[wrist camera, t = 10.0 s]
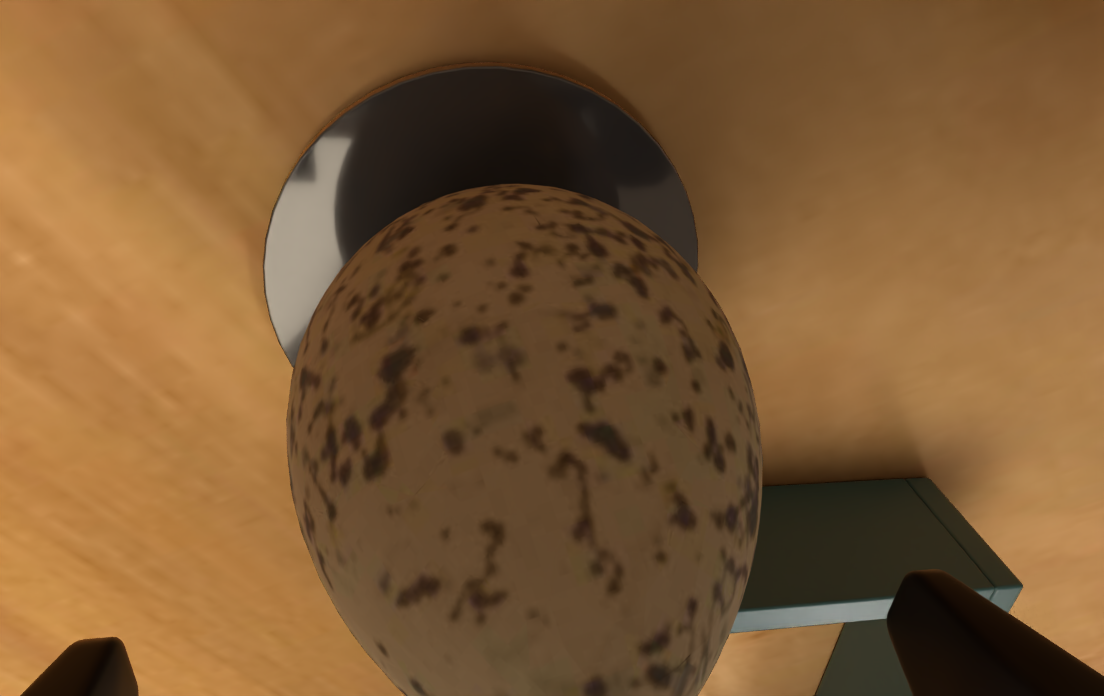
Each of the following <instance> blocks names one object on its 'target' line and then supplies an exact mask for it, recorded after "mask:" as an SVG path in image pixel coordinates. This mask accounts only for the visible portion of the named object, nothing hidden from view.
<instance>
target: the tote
mask: <svg viewBox="0 0 1104 696" xmlns="http://www.w3.org/2000/svg"><path fill="white" fill-rule="evenodd" d="M928 569H939V570H942V571H945V572H947V573H948V574H950V575H952V576H953V577H955V578H956V579H958V580H959V581H961V582H962V583H964V584H965V585H967V586H968V587H970V588H971V589H973V590H974V591H976V592H977V593H979V594H980V595H982V596H983V597H985V598H986V599H988V600H989V601H991V602H992V603H994V604H995V605H997V606H998V607H1000V608H1001V609H1003V610H1004V611H1006V612H1009V611H1010V609H1011V607H1012V606H1013V604H1014V602H1015V600H1016V599H1017V597H1018V595H1019V593H1020V592H1021V590H1022V588H1023V585H1022V583H1021V582H1020V581H1019V580H1018V579H1017V577H1016V576H1015V575H1014V574H1013V573H1012V572H1011V571H1010V569H1009V568H1008V567H1007V566H1006V565H1005V564H1004V563H1003V561H1002V560H1001V559H1000V558H999V557H998V556H997V555H996V553H995V552H994V551H993V550H992V549H991V548H990V547H989V545H988V544H987V543H986V542H985V541H984V540H983V539H982V538H981V536H980V535H979V534H978V533H977V532H976V531H975V530H974V528H973V527H972V526H971V525H970V524H969V523H968V522H967V520H966V519H965V518H964V517H963V516H962V515H961V514H960V512H959V511H958V510H957V509H956V508H955V507H954V506H953V504H952V503H951V502H950V501H949V500H948V499H947V498H946V497H945V495H944V494H943V493H942V492H941V491H940V490H939V489H938V487H937V486H936V485H935V484H934V483H933V482H932V481H931V479H929V478H927V477H925V478H908V479H905V480H904V479H886V480H868V481H851V482H833V483H816V484H798V485H780V486H763V487H762V498H761V510H760V521H759V529H758V536H757V543H756V548H755V553H754V558H753V563H752V567H751V571H750V574H749V578H748V581H747V585H746V588H745V592H744V595H743V599H742V602H741V604H740V607H739V610H738V613H737V616H736V619H735V621H734V624H733V626H732V629H731V632H730V633H739V632H749V631H760V630H771V629H781V628H792V627H803V626H814V625H824V624H835V623H845V625H844V627H843V630H842V632H841V634H840V637H839V639H838V642H837V644H836V646H835V649H834V651H833V654H832V656H831V659H830V661H829V663H828V666H827V668H826V671H825V673H824V675H823V678H822V680H821V683H820V685H819V687H818V690H817V692H816V695H815V696H913V694H912V692H911V689H910V687H909V684H908V682H907V679H906V677H905V674H904V672H903V669H902V667H901V664H900V662H899V659H898V657H897V654H896V652H895V649H894V647H893V644H892V641H891V639H890V636H889V633H888V629H887V613H888V611H889V608H890V606H891V604H892V602H893V600H894V597H895V595H896V593H897V591H898V589H899V586H900V584H901V582H902V580H903V578H904V576H905V575H906V574H907V573H909V572H911V571H916V570H928Z"/></svg>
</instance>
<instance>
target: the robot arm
mask: <svg viewBox="0 0 1104 696" xmlns="http://www.w3.org/2000/svg"><path fill="white" fill-rule="evenodd" d="M887 629H888V633H889V636H890V639H891V641H892V644H893V647H894V649H895V652H896V654H897V657H898V659H899V662H900V664H901V667H902V669H903V672H904V674H905V677H906V679H907V682H908V684H909V687H910V689H911V692H912V694H913V696H1104V676H1103V675H1101V674H1100V673H1098V672H1097V671H1095V670H1094V669H1092V668H1091V667H1089V666H1088V665H1086V664H1084V663H1083V662H1081V661H1080V660H1078V659H1077V658H1075V657H1074V656H1072V655H1071V654H1069V653H1068V652H1066V651H1065V650H1063V649H1062V648H1060V647H1059V646H1057V645H1056V644H1054V643H1053V642H1051V641H1050V640H1048V639H1047V638H1045V637H1044V636H1042V635H1041V634H1039V633H1038V632H1036V631H1035V630H1033V629H1032V628H1030V627H1029V626H1027V625H1026V624H1024V623H1023V622H1021V621H1020V620H1018V619H1017V618H1015V617H1014V616H1012V615H1011V614H1009V613H1008V612H1006V611H1004V610H1003V609H1001V608H1000V607H998V606H997V605H995V604H994V603H992V602H991V601H989V600H988V599H986V598H985V597H983V596H982V595H980V594H979V593H977V592H976V591H974V590H973V589H971V588H970V587H968V586H967V585H965V584H964V583H962V582H961V581H959V580H958V579H956V578H955V577H953V576H952V575H950V574H948V573H947V572H945V571H942V570H939V569H928V570H916V571H911V572H909V573H907V574H906V575H905V576H904V578H903V580H902V582H901V584H900V586H899V589H898V591H897V593H896V595H895V597H894V600H893V602H892V604H891V606H890V608H889V611H888V613H887ZM20 696H138V685H137V681H136V678H135V675H134V673H133V670H132V667H131V664H130V661H129V658H128V655H127V652H126V649H125V646H124V644H123V642H122V641H121V640H120V639H119V638H117V637H107V638H95V639H84V640H79V641H77V642H75V643H73V644H72V645H70V646H69V647H68V648H67V649H66V650H65V651H64V652H63V653H62V654H61V655H60V656H59V657H58V658H57V659H56V660H55V661H54V662H53V663H52V664H51V665H50V666H49V667H48V668H47V669H46V670H45V671H44V672H43V673H42V674H41V675H40V676H39V677H38V678H37V679H36V680H35V681H34V682H33V683H32V684H31V685H30V686H29V687H28V688H27V689H26V690H25V691H24V692H23V693H22V694H21V695H20Z"/></svg>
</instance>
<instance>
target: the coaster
mask: <svg viewBox="0 0 1104 696" xmlns="http://www.w3.org/2000/svg"><path fill="white" fill-rule="evenodd" d="M500 184H529V185H539V186H549V187H556V188H560V189H564V190H568V191H572V192H576V193H580V194H583V195H586V196H589V197H592V198H594V199H597V200H599V201H601V202H603V203H606V204H608V205H610V206H612V207H614V208H617V209H618V210H620V211H622V212H624V213H626V214H628V215H629V216H631V217H633V218H635V219H637V220H638V221H640V222H641V223H642V224H644V225H645V226H646V227H648V228H649V229H650V230H652V231H653V232H654V233H656V234H657V235H658V236H659V237H661V238H662V239H663V240H664V241H665V242H667V243H668V244H669V245H670V246H671V247H673V248H674V249H675V250H676V251H677V252H678V253H679V254H680V255H681V257H682V258H683V259H684V260H685V261H686V262H687V263H688V264H689V265H690V266H691V267H692V268H693V269H694V270H695V272H696V273H697V269H698V240H697V233H696V227H695V221H694V215H693V212H692V208H691V205H690V202H689V199H688V196H687V192H686V190H685V188H684V186H683V183H682V181H681V179H680V177H679V175H678V173H677V171H676V169H675V167H674V165H673V164H672V162H671V161H670V159H669V158H668V156H667V155H666V154H665V152H664V151H663V149H662V148H661V146H660V145H659V143H658V142H657V141H656V140H655V139H654V138H653V137H652V136H651V135H650V134H649V133H648V131H647V130H646V129H645V128H644V127H643V126H642V125H641V124H640V123H639V122H638V121H637V120H636V119H635V118H634V117H633V116H631V115H630V114H629V113H628V112H627V111H625V110H624V109H623V108H622V107H620V106H619V105H618V104H617V103H615V102H614V101H613V100H611V99H609V98H608V97H606V96H604V95H603V94H601V93H599V92H598V91H596V90H594V89H593V88H591V87H589V86H588V85H585V84H583V83H580V82H578V81H576V80H573V79H571V78H568V77H566V76H564V75H561V74H558V73H555V72H551V71H547V70H543V69H539V68H535V67H531V66H526V65H517V64H509V63H500V62H482V63H461V64H455V65H448V66H442V67H436V68H431V69H428V70H424V71H421V72H418V73H415V74H411V75H408V76H405V77H402V78H399V79H397V80H395V81H393V82H391V83H389V84H386V85H384V86H382V87H380V88H378V89H376V90H374V91H372V92H370V93H368V94H367V95H365V96H364V97H362V98H361V99H359V100H358V101H356V102H355V103H353V104H352V105H350V106H349V107H347V108H345V109H344V110H343V111H342V112H341V113H340V114H339V115H337V116H336V117H335V118H334V119H333V120H332V121H331V122H329V123H328V124H327V125H326V126H325V127H324V128H323V129H321V131H320V132H319V133H318V134H317V135H316V137H315V138H314V139H313V140H312V141H311V142H310V144H309V145H308V146H307V147H306V148H305V150H304V151H303V152H302V153H301V155H300V156H299V158H298V160H297V161H296V163H295V164H294V166H293V168H292V169H291V171H290V173H289V174H288V176H287V177H286V179H285V182H284V184H283V186H282V189H281V191H280V194H279V196H278V198H277V201H276V203H275V205H274V208H273V210H272V214H271V218H270V222H269V226H268V230H267V234H266V238H265V247H264V258H263V277H264V293H265V298H266V302H267V307H268V312H269V316H270V320H271V322H272V325H273V328H274V330H275V333H276V336H277V338H278V341H279V343H280V345H281V347H282V349H283V351H284V353H285V354H286V356H287V358H288V360H289V362H290V363H291V365H292V367H293V368H294V365H295V362H296V358H297V355H298V351H299V348H300V344H301V342H302V339H303V337H304V334H305V332H306V330H307V327H308V325H309V323H310V320H311V318H312V315H313V313H314V311H315V309H316V307H317V306H318V304H319V302H320V300H321V298H322V297H323V295H324V293H325V292H326V290H327V289H328V287H329V286H330V284H331V283H332V281H333V280H334V278H335V277H336V276H337V274H338V273H339V271H340V270H341V269H342V267H343V266H344V265H345V264H346V263H347V262H348V261H349V260H350V259H351V258H352V257H353V255H354V254H355V253H356V252H357V251H358V250H359V249H360V248H361V247H362V246H363V245H364V244H365V243H366V242H367V241H369V240H370V239H371V238H372V237H373V236H374V235H376V234H377V233H378V232H379V231H381V230H382V229H383V228H385V227H386V226H388V225H389V224H390V223H392V222H393V221H395V220H396V219H397V218H399V217H401V216H402V215H404V214H406V213H408V212H410V211H411V210H413V209H415V208H417V207H419V206H421V205H422V204H424V203H427V202H430V201H432V200H435V199H437V198H440V197H443V196H445V195H448V194H452V193H456V192H459V191H463V190H467V189H472V188H478V187H484V186H492V185H500Z"/></svg>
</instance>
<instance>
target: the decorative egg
mask: <svg viewBox="0 0 1104 696" xmlns="http://www.w3.org/2000/svg"><path fill="white" fill-rule="evenodd" d="M286 423H287V455H288V465H289V474H290V486H291V491H292V496H293V501H294V505H295V509H296V513H297V516H298V520H299V524H300V528H301V532H302V535H303V537H304V540H305V543H306V545H307V548H308V550H309V553H310V555H311V558H312V560H313V563H314V565H315V568H316V570H317V573H318V575H319V578H320V580H321V582H322V583H323V585H324V587H325V589H326V591H327V593H328V595H329V596H330V598H331V600H332V602H333V604H334V606H335V607H336V609H337V611H338V613H339V614H340V616H341V618H342V619H343V621H344V622H345V624H346V625H347V627H348V628H349V630H350V631H351V633H352V634H353V636H354V637H355V638H356V640H357V641H358V642H359V643H360V645H361V646H362V647H363V649H364V650H365V651H366V653H367V654H368V655H369V656H370V657H371V658H372V660H373V661H374V662H375V663H376V664H377V665H378V666H379V667H380V669H381V670H382V671H383V672H384V673H385V674H386V675H387V677H388V678H389V679H390V680H391V681H392V682H393V683H394V685H395V686H396V687H397V688H398V689H399V690H400V691H401V692H403V693H404V694H405V695H406V696H698V694H699V692H700V691H701V689H702V687H703V686H704V684H705V682H706V681H707V679H708V677H709V675H710V673H711V671H712V670H713V668H714V666H715V664H716V662H717V660H718V658H719V656H720V654H721V651H722V649H723V647H724V645H725V643H726V640H727V638H728V636H729V634H730V632H731V629H732V626H733V624H734V621H735V619H736V616H737V613H738V610H739V607H740V604H741V602H742V599H743V595H744V592H745V588H746V585H747V581H748V578H749V574H750V571H751V567H752V563H753V558H754V553H755V548H756V543H757V536H758V529H759V521H760V510H761V498H762V467H763V455H762V447H761V436H760V423H759V418H758V413H757V408H756V403H755V398H754V393H753V389H752V385H751V381H750V378H749V375H748V371H747V368H746V365H745V362H744V358H743V355H742V352H741V349H740V347H739V344H738V342H737V340H736V338H735V336H734V333H733V331H732V329H731V327H730V324H729V322H728V320H727V318H726V316H725V314H724V313H723V311H722V309H721V307H720V305H719V304H718V302H717V301H716V299H715V298H714V296H713V295H712V293H711V292H710V291H709V289H708V288H707V286H706V285H705V284H704V282H703V281H702V280H701V278H700V277H699V275H698V274H697V273H696V272H695V270H694V269H693V268H692V267H691V266H690V265H689V264H688V263H687V262H686V261H685V260H684V259H683V258H682V257H681V255H680V254H679V253H678V252H677V251H676V250H675V249H674V248H673V247H671V246H670V245H669V244H668V243H667V242H665V241H664V240H663V239H662V238H661V237H659V236H658V235H657V234H656V233H654V232H653V231H652V230H650V229H649V228H648V227H646V226H645V225H644V224H642V223H641V222H640V221H638V220H637V219H635V218H633V217H631V216H629V215H628V214H626V213H624V212H622V211H620V210H618V209H617V208H614V207H612V206H610V205H608V204H606V203H603V202H601V201H599V200H597V199H594V198H592V197H589V196H586V195H583V194H580V193H576V192H572V191H568V190H564V189H560V188H556V187H549V186H539V185H529V184H500V185H492V186H484V187H478V188H472V189H467V190H463V191H459V192H456V193H452V194H448V195H445V196H443V197H440V198H437V199H435V200H432V201H430V202H427V203H424V204H422V205H421V206H419V207H417V208H415V209H413V210H411V211H410V212H408V213H406V214H404V215H402V216H401V217H399V218H397V219H396V220H395V221H393V222H392V223H390V224H389V225H388V226H386V227H385V228H383V229H382V230H381V231H379V232H378V233H377V234H376V235H374V236H373V237H372V238H371V239H370V240H369V241H367V242H366V243H365V244H364V245H363V246H362V247H361V248H360V249H359V250H358V251H357V252H356V253H355V254H354V255H353V257H352V258H351V259H350V260H349V261H348V262H347V263H346V264H345V265H344V266H343V267H342V269H341V270H340V271H339V273H338V274H337V276H336V277H335V278H334V280H333V281H332V283H331V284H330V286H329V287H328V289H327V290H326V292H325V293H324V295H323V297H322V298H321V300H320V302H319V304H318V306H317V307H316V309H315V311H314V313H313V315H312V318H311V320H310V323H309V325H308V327H307V330H306V332H305V334H304V337H303V339H302V342H301V344H300V348H299V351H298V355H297V358H296V362H295V365H294V369H293V374H292V379H291V387H290V395H289V403H288V411H287V419H286Z"/></svg>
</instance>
